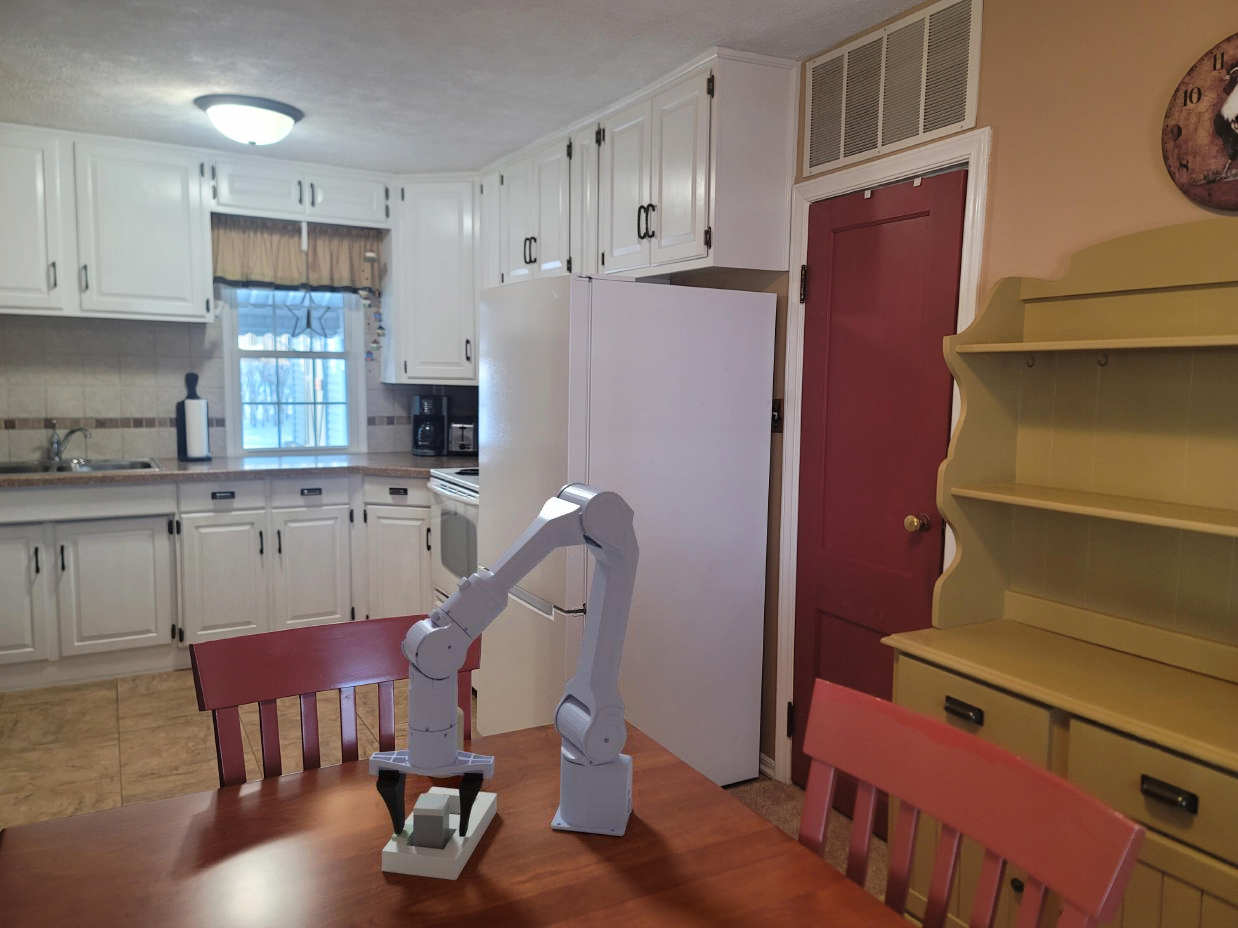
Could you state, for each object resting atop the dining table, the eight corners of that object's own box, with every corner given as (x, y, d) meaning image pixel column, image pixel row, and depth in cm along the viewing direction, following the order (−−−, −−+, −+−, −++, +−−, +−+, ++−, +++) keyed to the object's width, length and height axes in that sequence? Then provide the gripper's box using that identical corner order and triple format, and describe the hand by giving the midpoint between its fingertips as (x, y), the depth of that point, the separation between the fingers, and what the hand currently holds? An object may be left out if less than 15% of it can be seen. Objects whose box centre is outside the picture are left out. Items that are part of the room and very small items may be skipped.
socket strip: (496, 811, 115) (497, 790, 115) (456, 879, 100) (456, 856, 99) (432, 804, 117) (432, 783, 116) (381, 870, 101) (382, 847, 101)
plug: (448, 849, 106) (449, 794, 105) (442, 865, 102) (442, 809, 102) (420, 848, 106) (420, 793, 105) (412, 864, 103) (413, 807, 102)
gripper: (499, 710, 106) (497, 816, 108) (381, 706, 107) (380, 812, 108) (490, 734, 99) (488, 847, 101) (363, 730, 99) (363, 842, 101)
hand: (431, 831), depth 104 cm, fingers open, 7 cm apart
